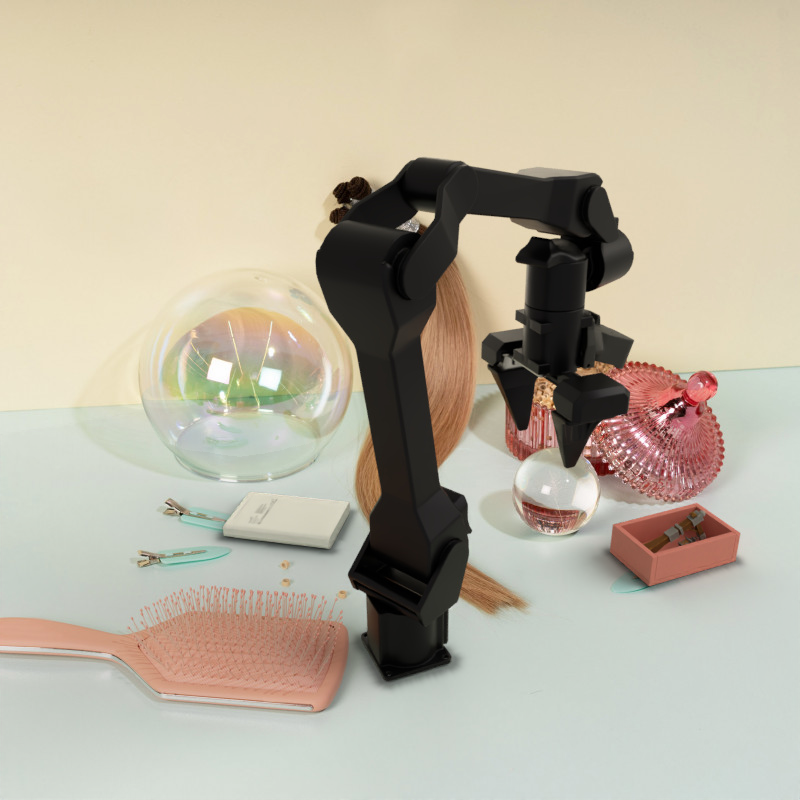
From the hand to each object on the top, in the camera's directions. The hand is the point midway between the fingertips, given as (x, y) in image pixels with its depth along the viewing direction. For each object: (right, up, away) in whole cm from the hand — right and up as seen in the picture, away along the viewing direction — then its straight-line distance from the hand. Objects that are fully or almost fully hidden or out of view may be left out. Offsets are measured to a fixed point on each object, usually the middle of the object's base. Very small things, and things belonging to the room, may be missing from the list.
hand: (544, 447), depth 87 cm
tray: (+14, -12, +3) cm, 18 cm away
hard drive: (-28, -10, +9) cm, 31 cm away
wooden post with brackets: (+14, -11, +3) cm, 18 cm away
